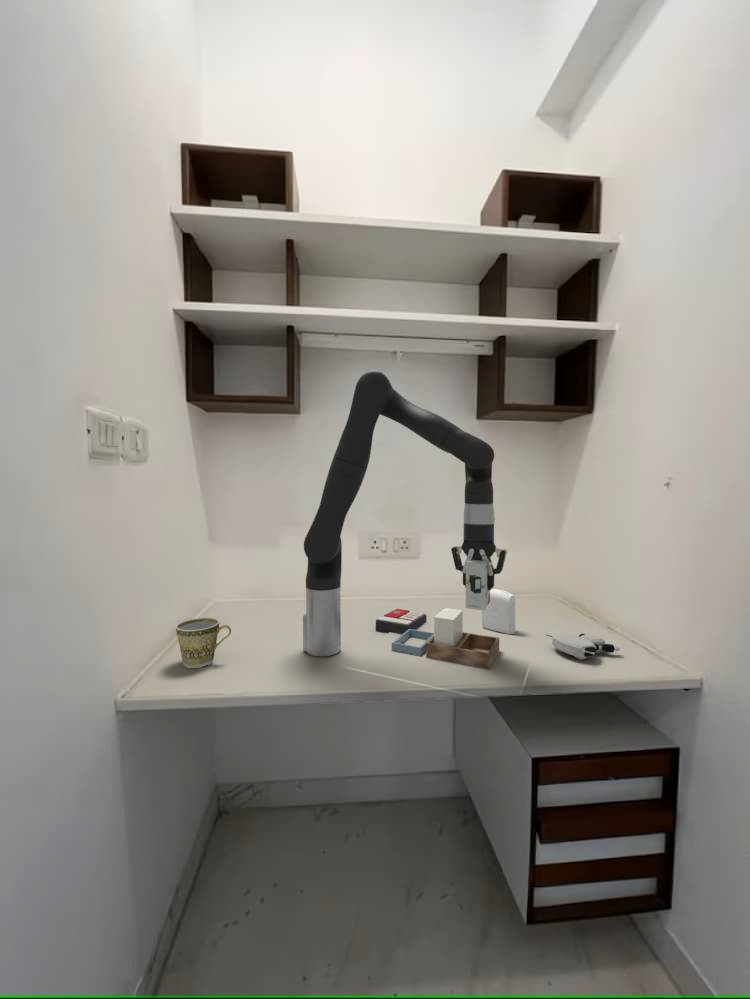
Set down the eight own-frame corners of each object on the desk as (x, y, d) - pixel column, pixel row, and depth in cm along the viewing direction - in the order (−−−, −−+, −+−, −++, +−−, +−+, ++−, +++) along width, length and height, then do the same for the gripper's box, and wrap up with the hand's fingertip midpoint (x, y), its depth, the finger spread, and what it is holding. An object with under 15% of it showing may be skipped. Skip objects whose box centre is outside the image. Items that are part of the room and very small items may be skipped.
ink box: (471, 599, 112) (472, 555, 112) (490, 602, 110) (491, 557, 110) (464, 608, 105) (465, 561, 104) (484, 610, 103) (485, 562, 102)
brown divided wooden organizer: (426, 658, 108) (426, 643, 108) (440, 642, 119) (440, 628, 119) (489, 671, 101) (489, 654, 101) (499, 652, 112) (499, 637, 112)
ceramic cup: (169, 672, 100) (168, 631, 100) (185, 655, 110) (184, 617, 110) (225, 671, 101) (225, 629, 101) (236, 654, 111) (236, 616, 111)
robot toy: (582, 644, 120) (542, 648, 114) (583, 628, 120) (543, 631, 114) (623, 660, 109) (580, 666, 103) (624, 643, 109) (582, 648, 103)
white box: (434, 655, 109) (434, 617, 108) (444, 643, 117) (444, 607, 116) (453, 659, 106) (453, 619, 106) (462, 646, 114) (462, 610, 114)
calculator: (427, 612, 137) (408, 623, 124) (426, 625, 137) (408, 637, 123) (396, 607, 142) (375, 617, 129) (395, 620, 142) (374, 631, 129)
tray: (391, 652, 112) (391, 642, 112) (408, 637, 123) (408, 628, 123) (420, 657, 109) (420, 648, 108) (436, 642, 119) (436, 633, 119)
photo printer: (479, 627, 131) (479, 588, 131) (487, 624, 134) (487, 585, 134) (510, 636, 124) (510, 594, 124) (517, 632, 127) (517, 591, 127)
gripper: (446, 521, 107) (446, 588, 107) (505, 524, 100) (505, 595, 101) (455, 519, 113) (454, 582, 114) (510, 521, 107) (510, 588, 108)
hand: (478, 588), depth 108 cm, fingers closed on ink box, 5 cm apart
